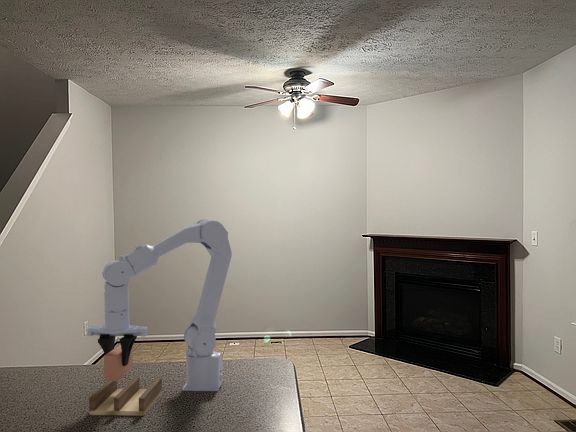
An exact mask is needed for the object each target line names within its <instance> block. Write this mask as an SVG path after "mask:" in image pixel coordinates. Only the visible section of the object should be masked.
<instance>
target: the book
mask: <svg viewBox="0 0 576 432" xmlns="http://www.w3.org/2000/svg"><path fill="white" fill-rule="evenodd" d="M133 350H134V349H133V347H132V349H131V353H130V356H129V362H128V364H127V365H126V366H122V350H121V344H119V345H117V346H116V347H114V349H113V350H112V351H110V352H109V353H108V354H106V355H105V354H104V356H103V378H104V382H108V381H117V382H118V381H119V380H120V379H121V378H122V377H124V375H125V374H127V373H128V372H130V370H131V369H132V368H134V365H133V364H134V363H133V362H134V359H133V357H134V356H133V354H134V353H133Z"/></svg>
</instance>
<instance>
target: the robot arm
mask: <svg viewBox="0 0 576 432" xmlns="http://www.w3.org/2000/svg"><path fill="white" fill-rule="evenodd" d="M189 243H190V244H193V243H194V244H195V243H196V244H201V245H202V246H203V247H205V249H206V251H207V252H208V254H209V255H210V257H211V258H210V261H209V264H208V268H207V272H206V275H205V280H204V283H203V287H202V291H201V294H200V298H199V302H198V306H197V308H196V312H195V314H194V316H193V317H192V318H191V321H190V324H189V326H187V328H186V329H185V331H184V333H183V339H184V342H185V344H186V345H187V349H186V350H185V365H186V369H185V370H186V371H185V372H186V382H185V384H184V385H183V387H182V389H181V390H182V391H183V392H188V391H189V392H219V390H220V389H221V386H222V384H223V382H224V364H223V363H224V361H223V353H222V352H218V351H214V350H215V347H216V344H217V339H216V331H217V327H216V326H217V325H216V316H217V313H218V308H219V305H220V301H221V298H222V293H223V290H224V286H225V283H226V282H225V281H226V279H227V275H228V271H229V267H230V263H231V260H232V256H233V253H232V248H231V244H230V241H229V232H228V230H227V229H226V228H225V226H224V225H223V224H222V223H221V222H220V221H217V220H208V219H200V220H198V221H197V222H194V223H190V224H188V225H185V227H183V228H181V229H179V230H177V231H175V232H174V233H172V234H170V235H169V236H168V237H166V238H164V239H162V240H160V241H159V242H156V243H155V244H154V245H150V244H143V245H141V244H138V245H135V249H133V250H132V251H130V252H129V253H126V254H124V255H122V254H121V255H118V257H117V259H118V260H112V261H111V260H110V261H109V262H107V263H106V264H105V266H104V267H103V271H102V272H101V273H102V277H103V278H104V280H105V281H104V295H103V296H104V325H98V326H97V325H95V326H94V325H93V326H90V327H87V329H86V331H87V332H86V335H87V337H92V336H99V338H97V344H99V346H100V348H101V349H102V351H103V353H104V356H105V355H106V354H108V353H109V352H110V351H112V350H113V349H115V343H116V337H117V336H119V337H120V336H122V337H121V338H120V339H119V343H120V344H121V350H122V366H126V365H127V364H128V362H129V356H130V353H131V349H132V348H133V346H134V344H135V342H136V339H137V338H138V336H139V337H143V338H146V337H147V336H148V331H149V330H148V329H149V328H148V326H140V325H132V324H130V323H131V322H130V321H131V320H130V317H131V316H130V290H129V282H130V280H131V277H136V276H137V275H140V274H141V273H143V272H144V271H146V270H148V269H151V268H152V267H153V266H155V265H157V263H158V261H159V258H160V257H162V256H163V255H166V254H167V253H169V252H171V251H173V250H175V249H177V248H179V247H181V246H183V245H185V244H189ZM120 344H119V345H120Z"/></svg>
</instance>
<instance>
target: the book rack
mask: <svg viewBox="0 0 576 432" xmlns="http://www.w3.org/2000/svg"><path fill="white" fill-rule="evenodd" d="M162 379H163V378H162V377H156V378H155V379H154V381H153V382H152V383H151V384H150V385H149V386H148V387H147V388H141V387H140V386H141V385H140V376H139V377H136V376H135V377H133V379H132V380H131V381H129V382H128V383H127V384H126V386H124V387H122V388H119V386H118V381H106V382H105V383H104V384H103V385H102V386H101V387H99V388H98V389H97V390H96V391H95V392H93V394H92V395H90V396H89V398H88V401H89V403H88V404H89V405H88V406H89V416H135V417H136V416H142V417H143V416H146V414H147V413H148V412H149V410H150V409H151V408H152V407H153V405H154V404H155V403H156V402H157V401H158V398H159V397H160V396H161V395H162V394H163V380H162Z"/></svg>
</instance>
